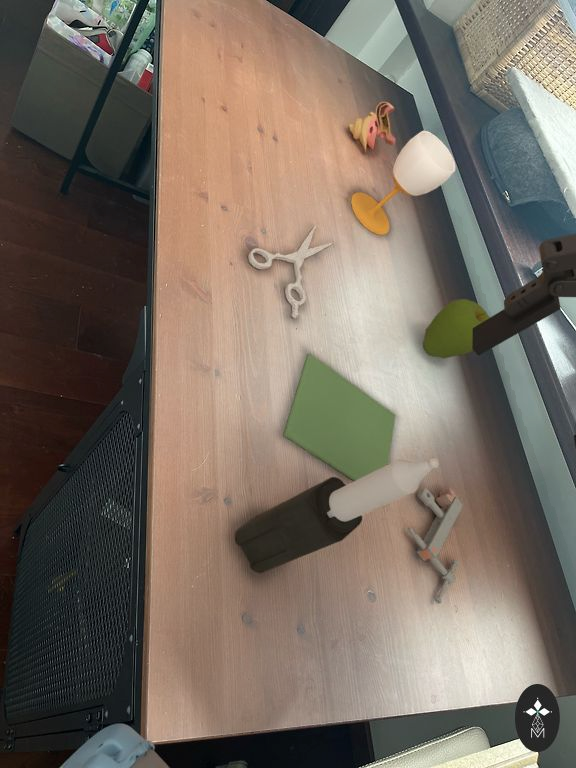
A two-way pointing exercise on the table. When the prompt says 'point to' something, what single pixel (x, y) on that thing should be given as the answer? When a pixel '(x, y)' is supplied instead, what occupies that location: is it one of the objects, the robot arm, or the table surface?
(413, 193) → the cup
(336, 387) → the cloth
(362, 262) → the table surface
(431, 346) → the green rounded fruit
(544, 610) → the table surface
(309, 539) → the candle
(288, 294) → the scissors
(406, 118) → the table surface
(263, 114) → the table surface
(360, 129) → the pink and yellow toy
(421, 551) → the clamp
